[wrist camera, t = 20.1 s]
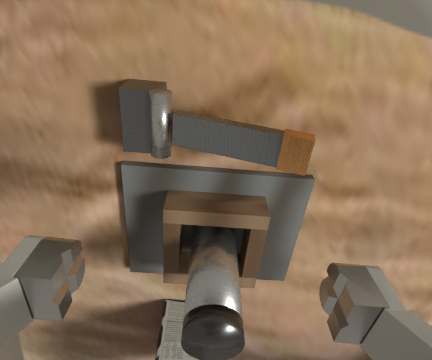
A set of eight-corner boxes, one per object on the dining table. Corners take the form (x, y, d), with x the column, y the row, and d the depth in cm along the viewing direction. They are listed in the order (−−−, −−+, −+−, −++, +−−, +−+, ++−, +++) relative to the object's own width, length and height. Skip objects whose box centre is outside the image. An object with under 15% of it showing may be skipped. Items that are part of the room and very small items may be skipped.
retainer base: (176, 83, 24) (170, 95, 20) (175, 140, 26) (169, 159, 23) (128, 78, 23) (115, 90, 20) (132, 136, 26) (120, 155, 23)
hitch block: (312, 175, 28) (325, 198, 25) (282, 275, 35) (289, 304, 32) (123, 160, 27) (110, 183, 24) (132, 266, 34) (122, 295, 31)
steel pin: (237, 215, 30) (249, 326, 19) (231, 247, 32) (239, 362, 21) (194, 211, 29) (182, 322, 19) (191, 244, 32) (179, 359, 21)
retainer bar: (178, 108, 22) (315, 134, 20) (178, 140, 23) (305, 168, 21) (171, 113, 21) (314, 140, 19) (171, 146, 22) (305, 175, 20)
